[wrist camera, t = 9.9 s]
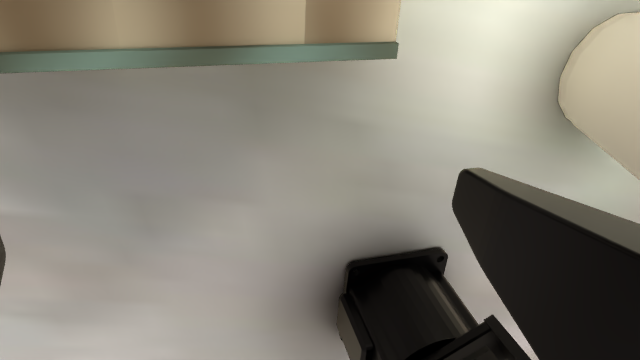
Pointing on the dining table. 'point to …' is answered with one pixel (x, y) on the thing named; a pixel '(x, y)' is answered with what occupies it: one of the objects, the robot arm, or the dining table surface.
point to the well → (191, 33)
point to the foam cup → (607, 88)
